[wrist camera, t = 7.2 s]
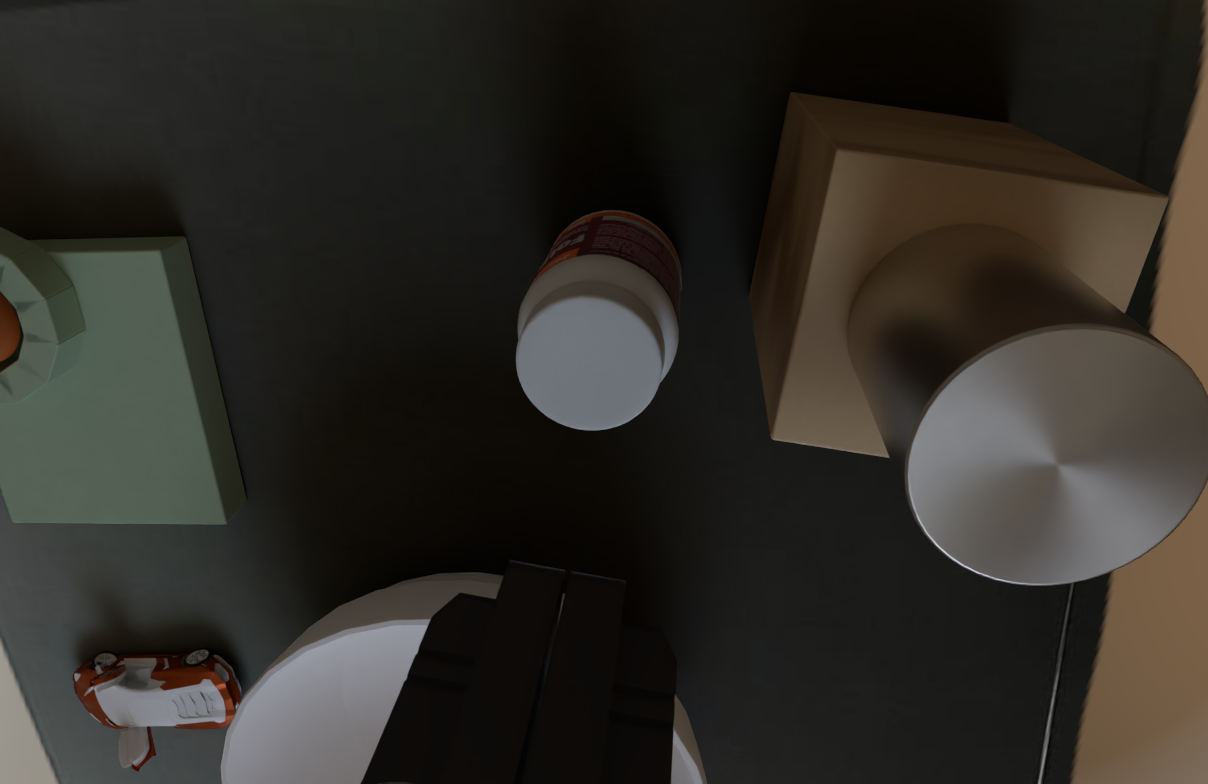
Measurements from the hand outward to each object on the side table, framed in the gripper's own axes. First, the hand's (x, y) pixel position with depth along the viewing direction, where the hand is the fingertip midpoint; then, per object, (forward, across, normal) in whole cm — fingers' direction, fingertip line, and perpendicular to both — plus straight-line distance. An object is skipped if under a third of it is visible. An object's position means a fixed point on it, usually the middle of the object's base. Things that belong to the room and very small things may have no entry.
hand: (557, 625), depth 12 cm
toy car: (+21, +18, +25) cm, 38 cm away
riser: (+22, -7, -1) cm, 23 cm away
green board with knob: (+22, +20, +10) cm, 31 cm away
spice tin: (+11, -7, -1) cm, 13 cm away
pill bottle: (+22, +1, +2) cm, 22 cm away
